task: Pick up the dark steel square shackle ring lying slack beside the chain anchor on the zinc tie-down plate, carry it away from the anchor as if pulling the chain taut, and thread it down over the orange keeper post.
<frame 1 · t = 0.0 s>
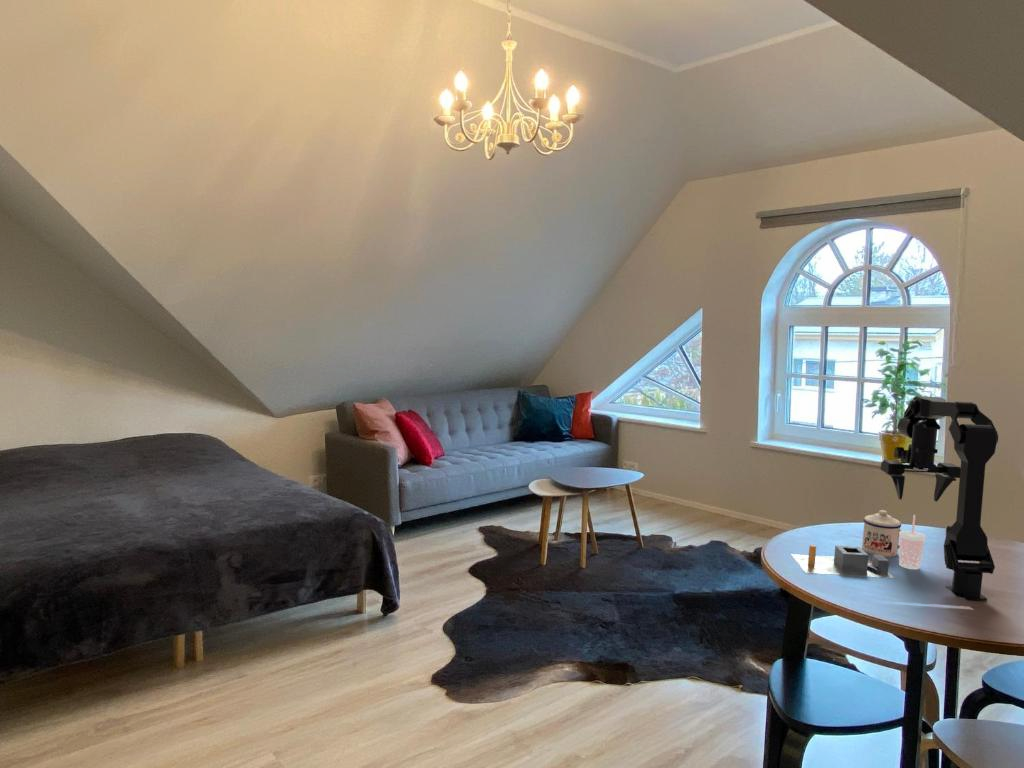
hand: (917, 500, 200), 15 cm above the table, fingers open, 9 cm apart
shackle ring: (850, 567, 188), point 1 cm above the table, touching tie plate
tie plate: (845, 573, 185), on the table
beverage cup: (909, 568, 190), on the table
teacup with lid: (885, 554, 200), on the table
keeper post: (811, 567, 189), resting on tie plate
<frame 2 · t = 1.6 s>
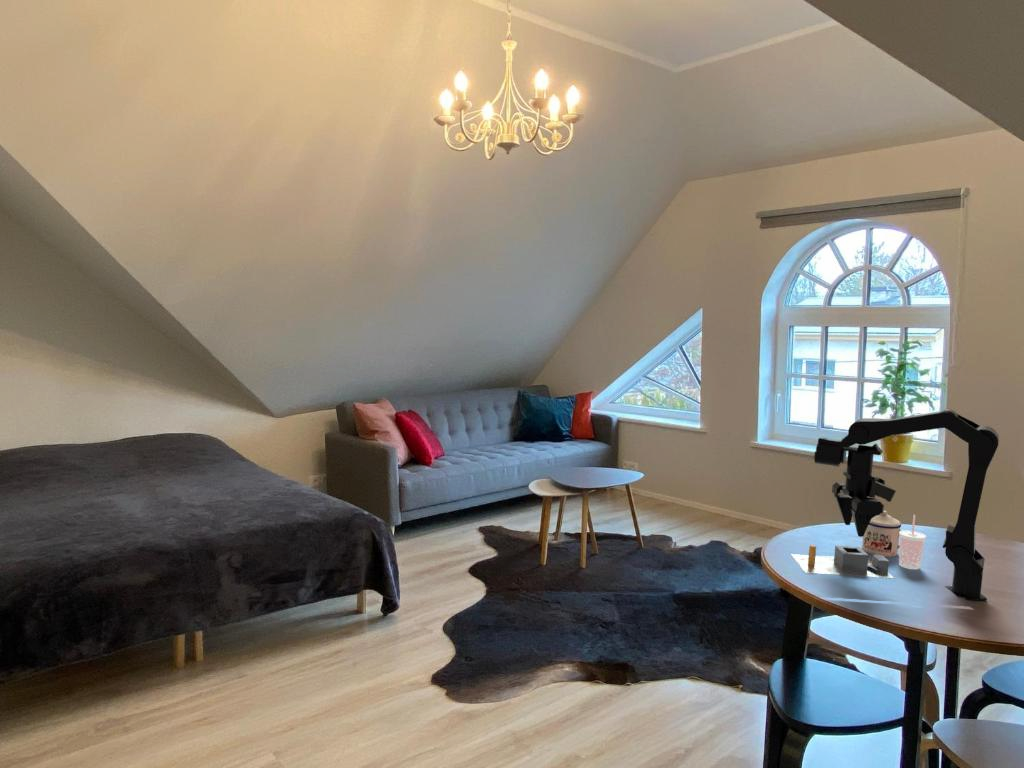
hand: (853, 530, 187), 10 cm above the table, fingers open, 9 cm apart
nothing on the table moved.
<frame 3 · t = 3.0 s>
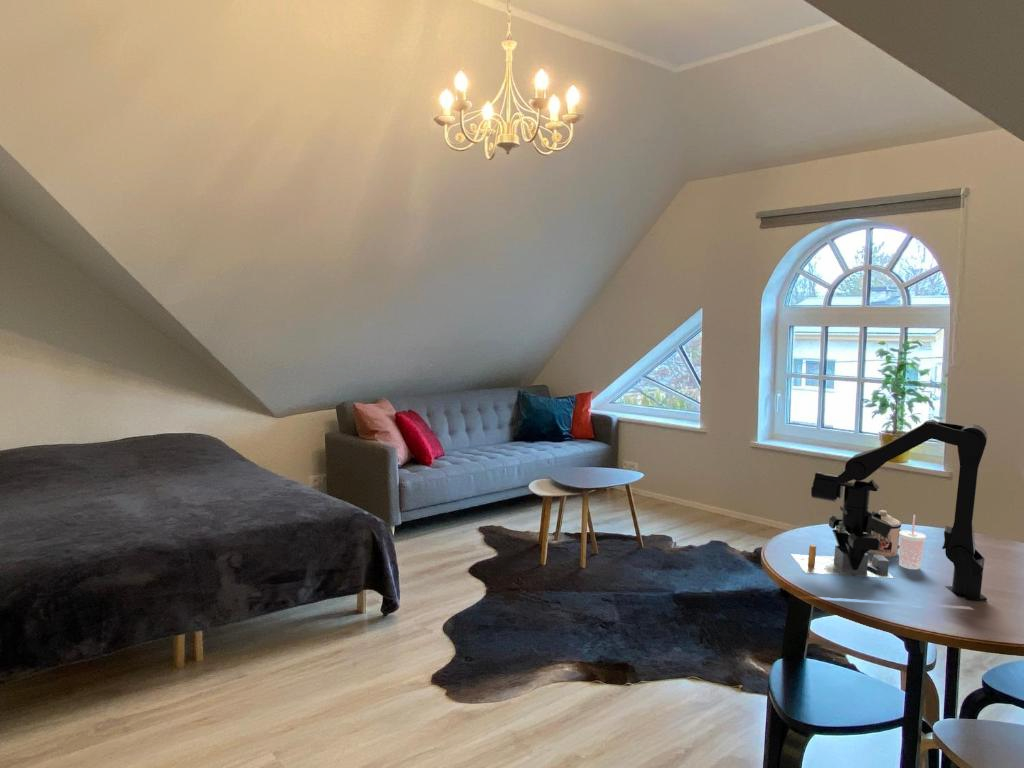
hand: (850, 565, 188), 1 cm above the table, fingers closed on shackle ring, 6 cm apart
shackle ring: (850, 567, 188), point 1 cm above the table, touching gripper, tie plate
everything else where it was.
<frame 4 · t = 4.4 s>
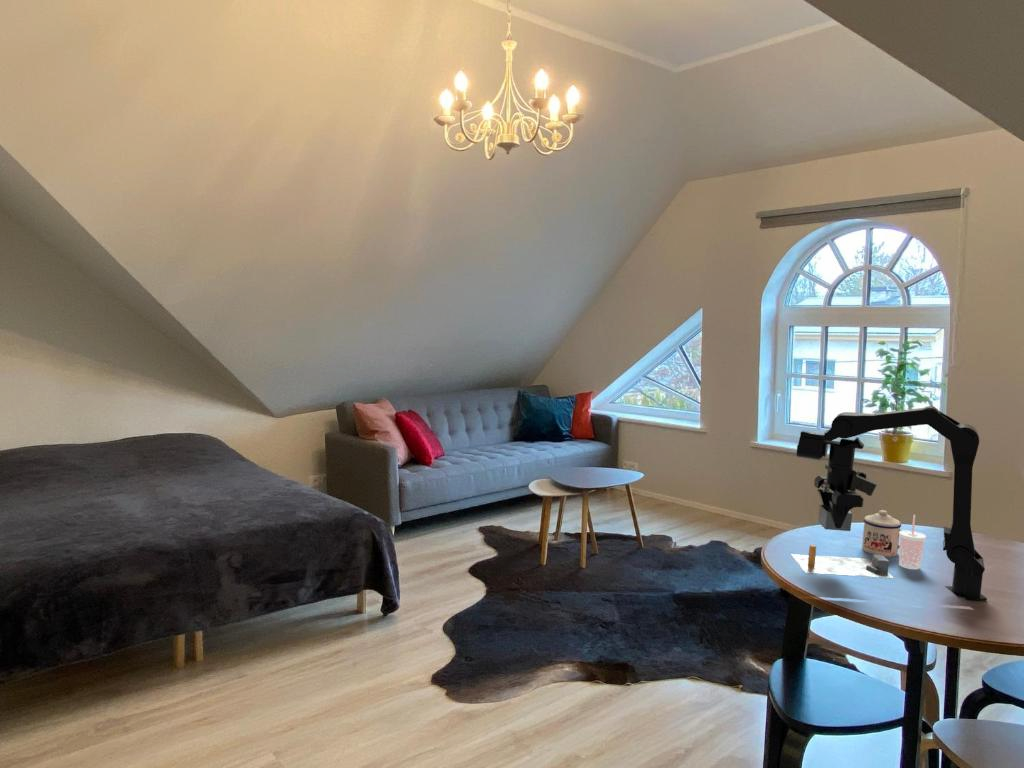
hand: (834, 523, 187), 12 cm above the table, fingers closed on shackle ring, 6 cm apart
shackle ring: (833, 526, 187), point 11 cm above the table, touching gripper
everything else where it was.
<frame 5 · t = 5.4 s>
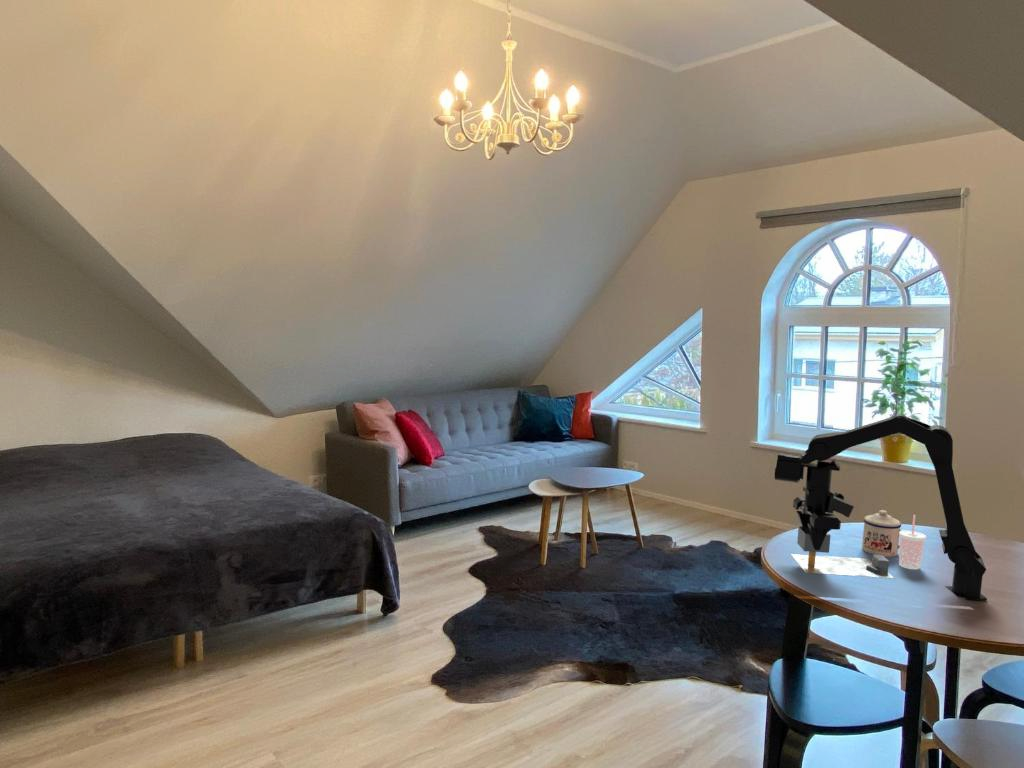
hand: (813, 545, 188), 6 cm above the table, fingers closed on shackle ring, 6 cm apart
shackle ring: (812, 547, 188), point 5 cm above the table, touching gripper
everything else where it was.
when the fingers open (3 cm above the table, at t = 6.3 s): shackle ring drops 2 cm, resting on tie plate.
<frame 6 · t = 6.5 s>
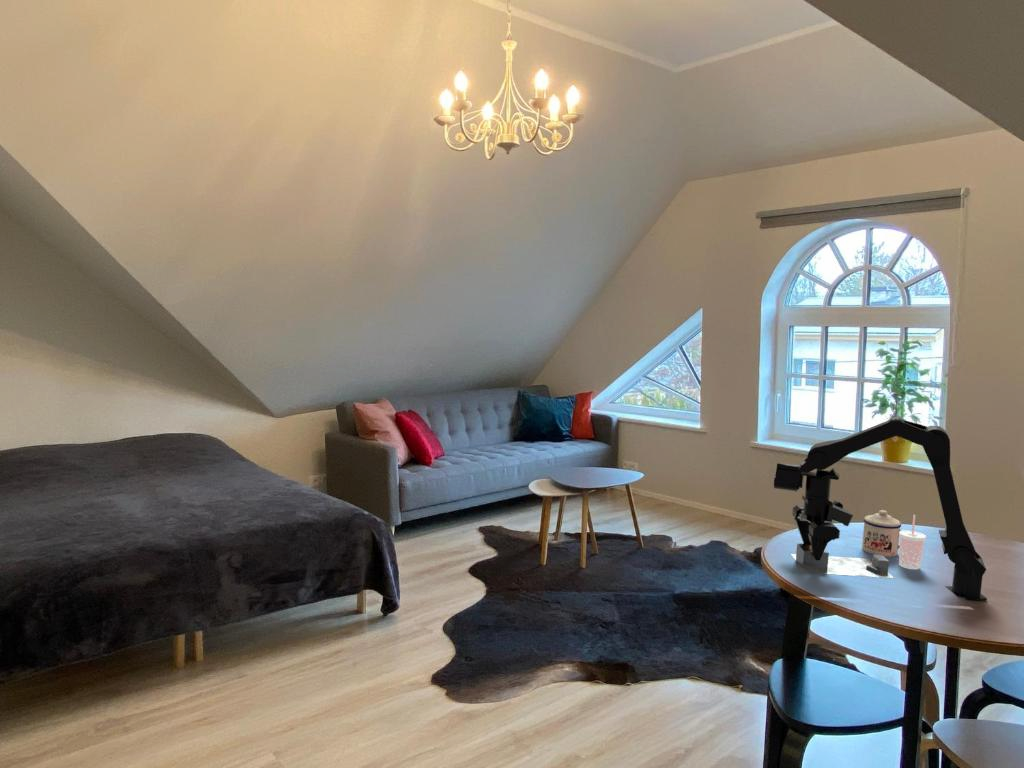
hand: (812, 554, 188), 3 cm above the table, fingers open, 8 cm apart
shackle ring: (811, 565, 189), point 1 cm above the table, touching tie plate
everything else where it was.
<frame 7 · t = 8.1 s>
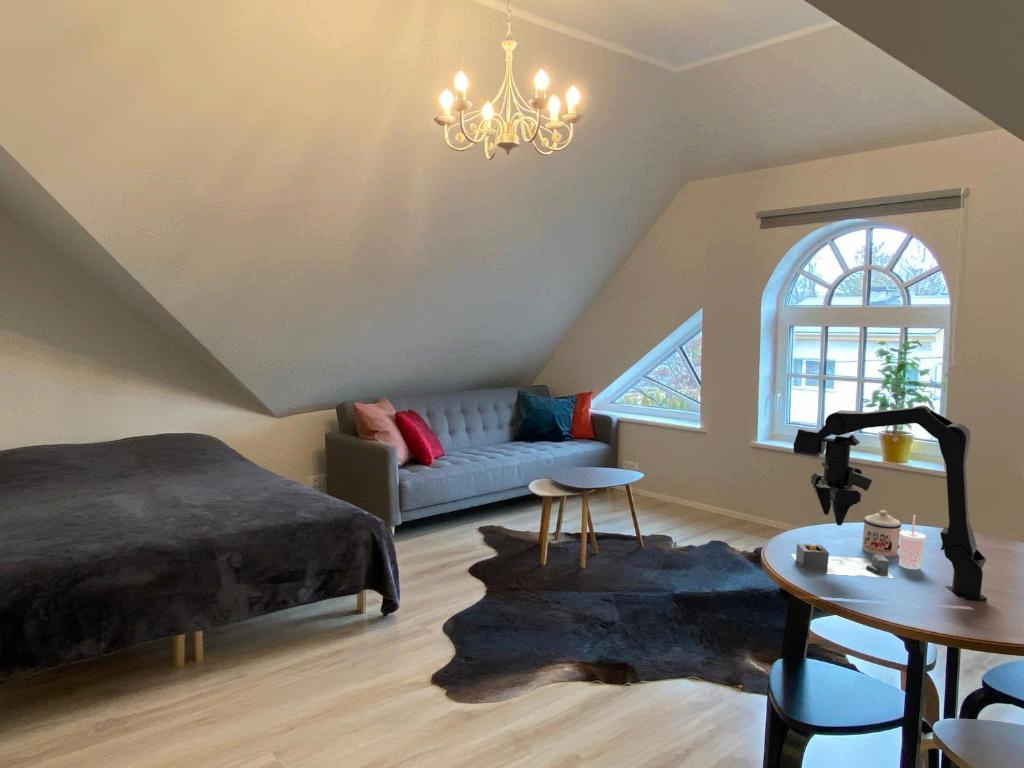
hand: (832, 519, 191), 11 cm above the table, fingers open, 9 cm apart
nothing on the table moved.
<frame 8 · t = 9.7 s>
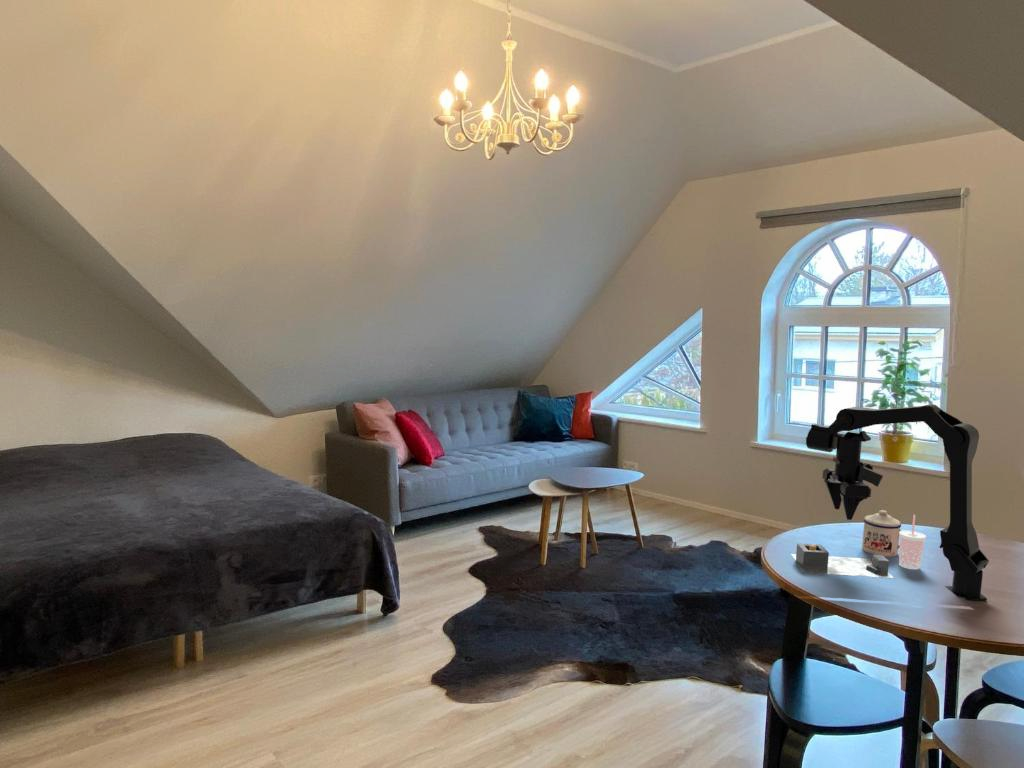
hand: (842, 514, 194), 12 cm above the table, fingers open, 9 cm apart
nothing on the table moved.
at the end: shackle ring 0.0 cm off-centre on the keeper post, point 0.6 cm above the keeper post's base; the gripper is holding nothing; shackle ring tilted 0° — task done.
